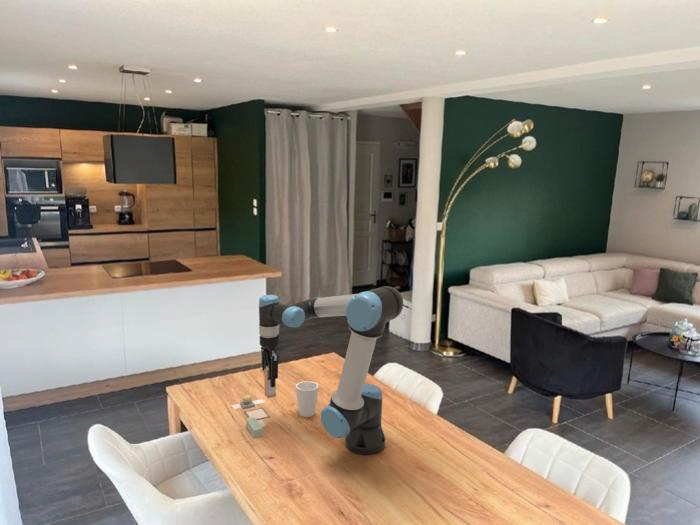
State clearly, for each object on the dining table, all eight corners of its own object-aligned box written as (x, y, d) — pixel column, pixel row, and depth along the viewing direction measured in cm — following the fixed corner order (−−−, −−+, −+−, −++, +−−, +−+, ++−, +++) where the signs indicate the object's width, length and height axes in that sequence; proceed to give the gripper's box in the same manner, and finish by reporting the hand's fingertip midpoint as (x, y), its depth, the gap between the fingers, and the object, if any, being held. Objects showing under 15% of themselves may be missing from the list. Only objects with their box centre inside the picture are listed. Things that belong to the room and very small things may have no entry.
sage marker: (262, 436, 198) (262, 428, 198) (254, 438, 197) (254, 430, 196) (253, 423, 207) (253, 415, 206) (245, 425, 205) (245, 417, 205)
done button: (252, 400, 222) (252, 396, 221) (244, 402, 220) (244, 398, 220) (250, 397, 225) (249, 393, 224) (241, 399, 223) (241, 394, 223)
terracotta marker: (275, 396, 204) (275, 367, 202) (267, 398, 203) (267, 368, 201) (272, 393, 207) (272, 364, 205) (264, 394, 206) (264, 365, 204)
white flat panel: (286, 428, 206) (286, 424, 205) (252, 437, 199) (252, 432, 199) (262, 400, 230) (262, 396, 229) (231, 407, 223) (231, 402, 223)
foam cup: (307, 422, 211) (307, 392, 209) (290, 415, 217) (290, 386, 214) (322, 414, 219) (322, 385, 216) (306, 407, 224) (306, 379, 222)
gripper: (286, 339, 195) (287, 398, 200) (271, 327, 210) (271, 382, 214) (267, 342, 192) (268, 402, 196) (253, 330, 206) (254, 386, 210)
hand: (270, 391), depth 205 cm, fingers closed on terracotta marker, 3 cm apart
